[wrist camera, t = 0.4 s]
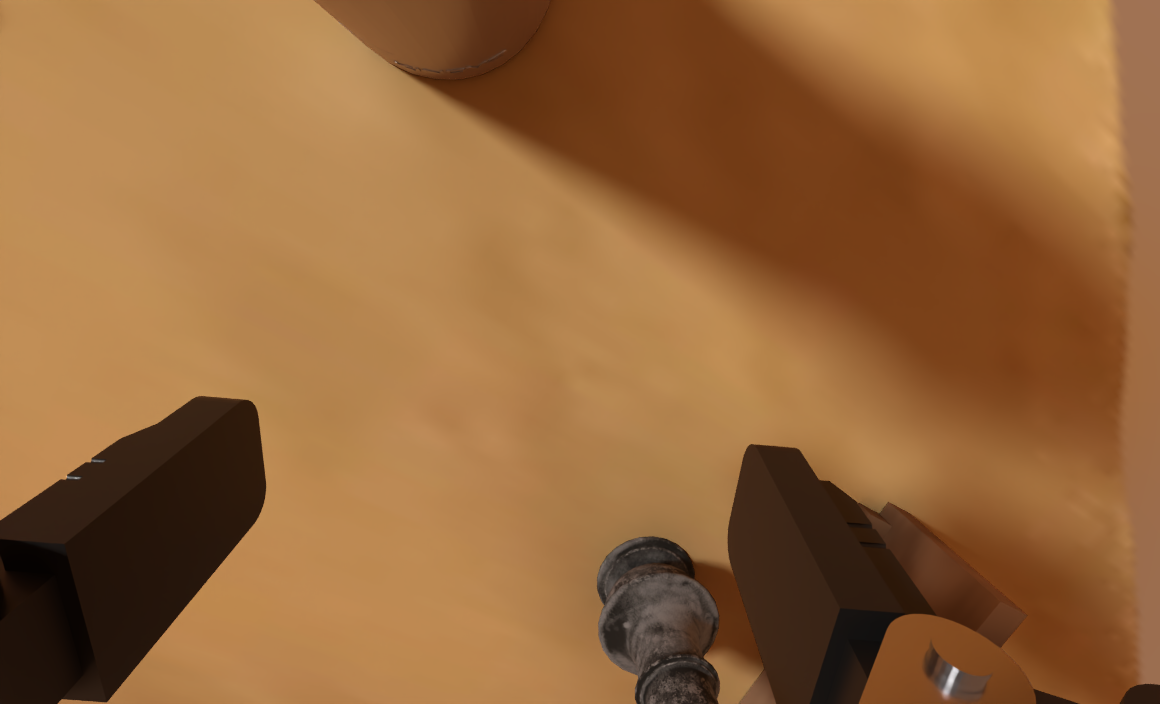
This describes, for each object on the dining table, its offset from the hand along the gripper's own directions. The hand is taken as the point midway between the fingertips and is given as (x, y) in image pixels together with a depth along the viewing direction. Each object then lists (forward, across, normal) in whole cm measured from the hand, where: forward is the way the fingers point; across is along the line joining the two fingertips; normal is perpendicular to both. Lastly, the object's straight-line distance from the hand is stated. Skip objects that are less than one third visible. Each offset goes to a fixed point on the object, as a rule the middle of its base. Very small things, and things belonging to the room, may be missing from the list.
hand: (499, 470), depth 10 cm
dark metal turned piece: (+17, -6, +17) cm, 25 cm away
